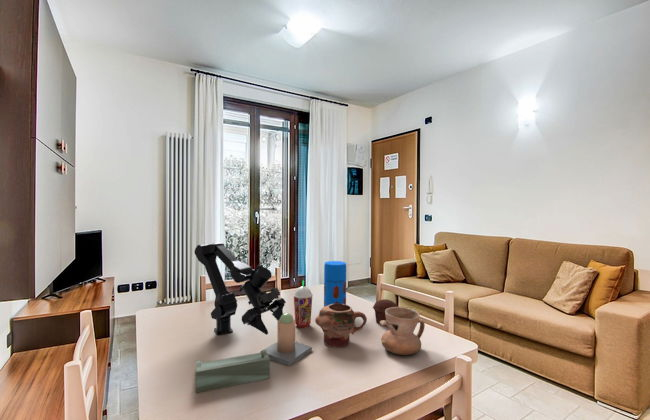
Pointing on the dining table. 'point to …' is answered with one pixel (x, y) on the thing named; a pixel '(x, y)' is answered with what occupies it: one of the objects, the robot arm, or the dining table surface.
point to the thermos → (334, 282)
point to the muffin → (382, 309)
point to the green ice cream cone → (286, 333)
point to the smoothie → (303, 306)
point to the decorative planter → (338, 323)
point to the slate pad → (288, 357)
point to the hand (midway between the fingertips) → (276, 329)
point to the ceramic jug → (402, 331)
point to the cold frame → (232, 371)
